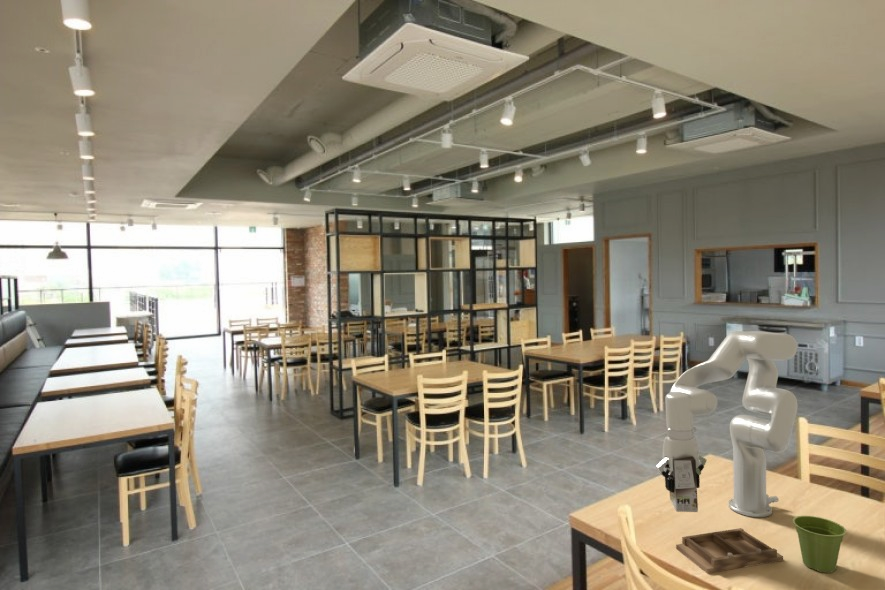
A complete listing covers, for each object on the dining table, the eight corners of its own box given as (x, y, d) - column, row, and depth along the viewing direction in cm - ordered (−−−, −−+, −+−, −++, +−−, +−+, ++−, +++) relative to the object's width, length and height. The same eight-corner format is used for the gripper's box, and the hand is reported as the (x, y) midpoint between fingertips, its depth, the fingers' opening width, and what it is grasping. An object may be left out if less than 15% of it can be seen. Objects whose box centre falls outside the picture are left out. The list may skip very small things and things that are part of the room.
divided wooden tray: (747, 537, 158) (746, 524, 158) (783, 560, 146) (783, 546, 145) (676, 548, 154) (676, 535, 153) (707, 573, 141) (707, 558, 141)
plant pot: (858, 574, 138) (858, 532, 138) (820, 581, 136) (820, 538, 135) (817, 551, 150) (817, 512, 149) (782, 557, 147) (782, 518, 147)
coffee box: (699, 512, 157) (696, 460, 156) (676, 512, 159) (673, 460, 158) (690, 498, 166) (688, 448, 165) (669, 498, 168) (666, 449, 167)
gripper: (696, 425, 166) (699, 479, 168) (647, 433, 163) (650, 488, 164) (713, 432, 159) (716, 489, 160) (662, 441, 156) (665, 498, 157)
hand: (682, 488), depth 162 cm, fingers closed on coffee box, 8 cm apart
